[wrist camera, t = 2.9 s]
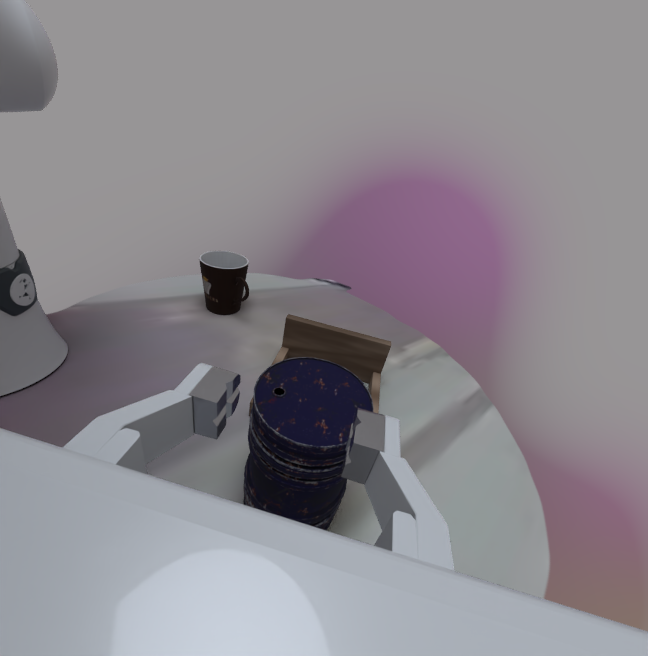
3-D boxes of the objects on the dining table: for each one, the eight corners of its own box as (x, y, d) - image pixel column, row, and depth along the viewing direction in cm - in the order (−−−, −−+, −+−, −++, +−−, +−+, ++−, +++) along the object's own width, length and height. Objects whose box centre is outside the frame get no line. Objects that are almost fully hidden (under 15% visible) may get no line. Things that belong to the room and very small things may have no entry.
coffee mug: (200, 296, 63) (199, 249, 58) (243, 296, 67) (245, 252, 61) (200, 327, 54) (199, 275, 49) (250, 326, 58) (254, 277, 52)
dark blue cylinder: (333, 458, 37) (365, 363, 29) (340, 551, 29) (387, 453, 21) (250, 452, 36) (260, 350, 28) (232, 548, 28) (240, 442, 20)
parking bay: (371, 451, 39) (390, 407, 35) (248, 415, 40) (253, 369, 36) (376, 380, 51) (391, 341, 47) (282, 354, 52) (288, 314, 48)
